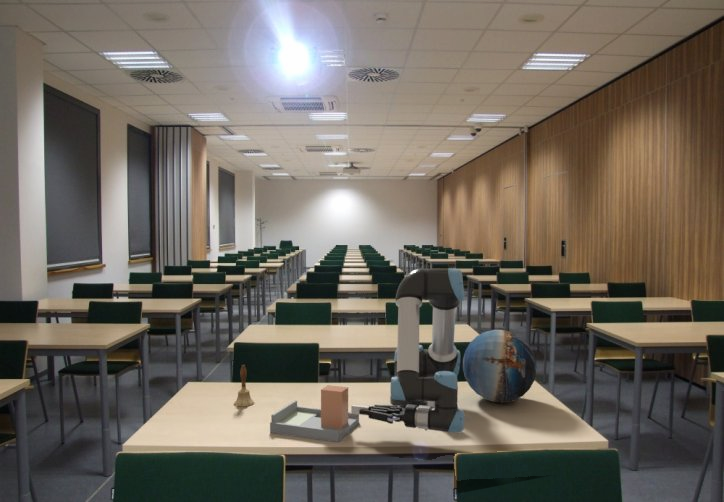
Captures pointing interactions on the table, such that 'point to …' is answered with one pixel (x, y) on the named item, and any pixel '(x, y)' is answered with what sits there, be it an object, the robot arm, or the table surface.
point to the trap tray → (308, 423)
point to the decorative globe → (499, 366)
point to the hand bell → (243, 391)
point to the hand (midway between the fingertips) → (352, 409)
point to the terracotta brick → (334, 406)
